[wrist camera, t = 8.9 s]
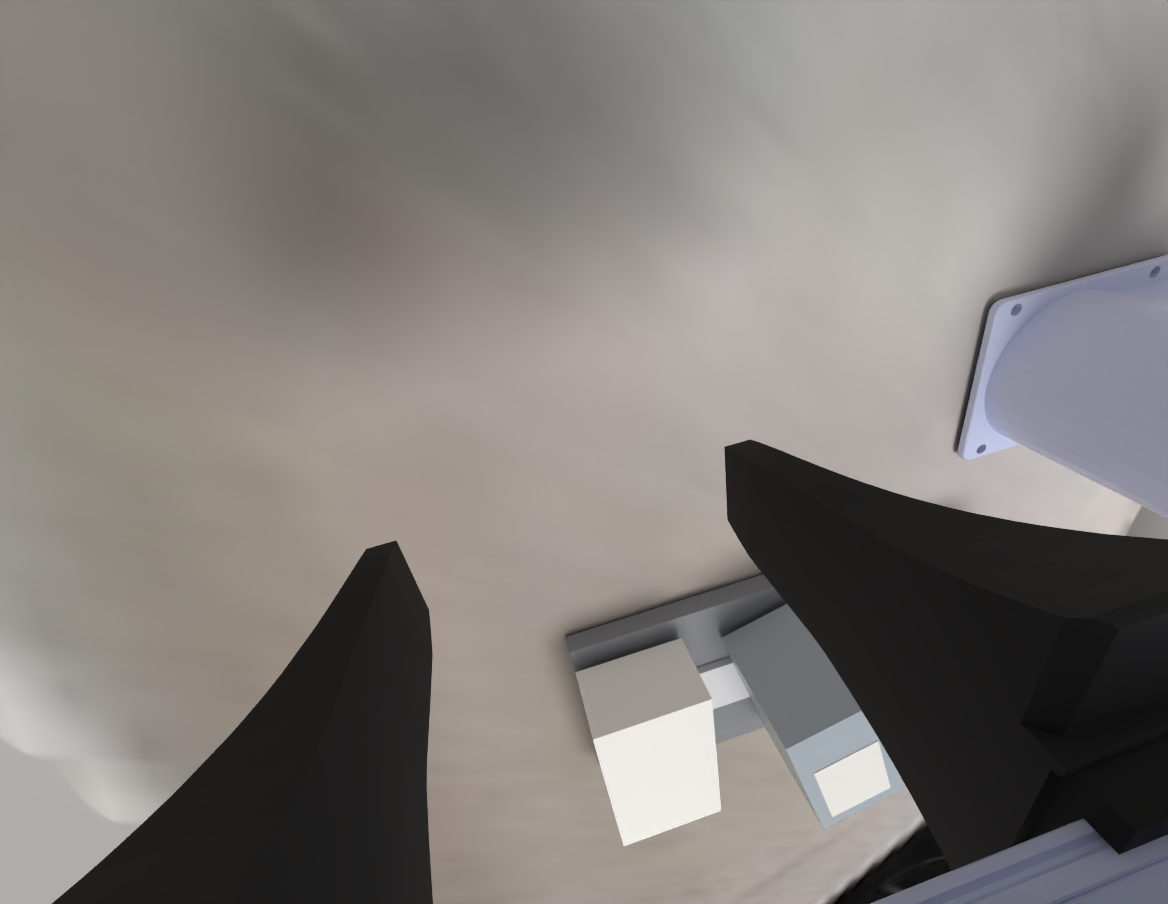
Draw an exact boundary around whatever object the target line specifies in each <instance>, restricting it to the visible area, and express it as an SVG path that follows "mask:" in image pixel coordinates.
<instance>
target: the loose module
mask: <svg viewBox="0 0 1168 904" xmlns="http://www.w3.org/2000/svg"><path fill="white" fill-rule="evenodd" d="M721 639H722V641H723V643H724V645H725V647H726V649H727V651H728V653H729V655H730V657H731V659H732V661H733V663H734V665H735V667H736V669H737V672H738V674H739V676H740V678H741V680H742V682H743V684H744V686H745V688H746V690H747V692H748V694H749V696H750V698H751V700H752V702H753V704H754V706H755V708H756V710H757V712H758V714H759V716H760V718H761V720H762V722H763V724H764V726H765V728H766V729H767V731H768V733H769V735H770V736H771V738H772V740H773V742H774V743H775V745H776V747H777V749H778V750H779V752H780V754H781V756H782V757H783V759H784V761H785V763H786V764H787V766H788V768H789V770H790V771H791V773H792V775H793V777H794V779H795V780H796V782H797V784H798V786H799V787H800V789H801V791H802V793H803V794H804V796H805V798H806V800H807V801H808V803H809V805H810V807H811V808H812V810H813V812H814V814H815V815H816V817H817V819H818V821H819V822H820V824H821V826H822V828H823V829H826V828H828V827H830V826H832V825H834V824H836V823H838V822H840V821H842V820H844V819H846V818H848V817H850V816H852V815H854V814H856V813H857V812H859V811H861V810H863V809H865V808H867V807H869V806H871V805H873V804H875V803H877V802H879V801H881V800H883V799H885V798H887V797H889V796H891V795H893V794H895V793H897V792H899V791H901V790H903V789H904V788H903V784H902V780H901V776H900V775H899V773H898V771H897V769H896V768H895V766H894V764H893V762H892V761H891V759H890V757H889V756H888V754H887V752H886V750H885V749H884V747H883V745H882V743H881V742H880V740H879V738H878V737H877V735H876V733H875V732H874V730H873V729H872V727H871V725H870V724H869V722H868V720H867V719H866V717H865V715H864V714H863V712H862V711H861V709H860V707H859V706H858V704H857V702H856V701H855V699H854V698H853V696H852V694H851V693H850V691H849V690H848V688H847V686H846V685H845V683H844V682H843V680H842V679H841V677H840V676H839V674H838V673H837V671H836V669H835V668H834V666H833V665H832V663H831V662H830V660H829V659H828V657H827V655H826V654H825V652H824V651H823V650H822V648H821V647H820V646H819V644H818V643H817V641H816V640H815V639H814V637H813V636H812V635H811V633H810V632H809V631H808V630H807V628H806V627H805V626H804V625H803V623H802V622H801V621H800V620H799V618H798V617H797V616H796V615H795V613H794V612H793V611H792V610H791V608H790V607H789V606H788V605H787V604H786V605H784V606H782V607H780V608H778V609H776V610H774V611H772V612H770V613H768V614H766V615H764V616H762V617H761V618H759V619H757V620H755V621H753V622H751V623H749V624H747V625H745V626H743V627H741V628H739V629H738V630H736V631H734V632H732V633H730V634H728V635H726V636H724V637H722V638H721Z"/></svg>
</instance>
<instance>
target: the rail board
mask: <svg viewBox="0 0 1168 904" xmlns="http://www.w3.org/2000/svg"><path fill="white" fill-rule="evenodd" d="M786 604H787V603H786V602H785V601H784V600H783V598H782V597H781V596H780V595H779V593H778V592H777V591H776V590H775V588H774V587H773V586H772V585H771V583H770V582H769V581H768V580H767V578H766V577H765V576H764V575H763V574H762V575H759V576H756V577H752V578H749V579H746V580H743V581H740V582H737V583H733V584H730V585H727V586H724V587H721V588H718V589H714V590H711V591H708V592H705V593H702V594H699V595H696V596H692V597H689V598H686V599H683V600H680V601H677V602H673V603H670V604H667V605H664V606H661V607H658V608H654V609H651V610H648V611H645V612H642V613H639V614H636V615H632V616H629V617H626V618H623V619H620V620H617V621H613V622H610V623H607V624H604V625H601V626H598V627H594V628H591V629H588V630H585V631H582V632H579V633H576V634H572V635H569V636H566V641H567V645H568V648H569V652H570V656H571V659H572V663H573V666H574V670H575V674H576V678H577V681H578V685H579V689H580V693H581V697H582V700H583V704H584V708H585V712H586V715H587V719H588V723H589V727H590V731H591V734H592V738H593V742H594V745H595V749H596V752H597V756H598V759H599V762H600V766H601V769H602V773H603V776H604V780H605V783H606V786H607V790H608V793H609V797H610V800H611V804H612V807H613V811H614V814H615V817H616V821H617V824H618V828H619V831H620V835H621V838H622V841H623V845H624V846H626V845H629V844H632V843H634V842H637V841H640V840H643V839H645V838H648V837H651V836H654V835H656V834H659V833H662V832H664V831H667V830H670V829H673V828H675V827H678V826H681V825H683V824H686V823H689V822H692V821H694V820H697V819H700V818H703V817H705V816H708V815H711V814H713V813H716V812H719V811H721V804H720V792H719V779H718V767H717V754H716V744H717V743H720V742H723V741H725V740H728V739H731V738H734V737H737V736H740V735H742V734H745V733H748V732H751V731H754V730H757V729H759V728H762V727H765V726H764V724H763V722H762V720H761V718H760V716H759V714H758V712H757V710H756V708H755V706H754V704H753V702H752V700H751V698H750V696H749V694H748V692H747V690H746V688H745V686H744V684H743V682H742V680H741V678H740V676H739V674H738V672H737V669H736V667H735V665H734V663H733V661H732V659H731V657H730V655H729V653H728V651H727V649H726V647H725V645H724V643H723V641H722V639H721V638H722V637H724V636H726V635H728V634H730V633H732V632H734V631H736V630H738V629H739V628H741V627H743V626H745V625H747V624H749V623H751V622H753V621H755V620H757V619H759V618H761V617H762V616H764V615H766V614H768V613H770V612H772V611H774V610H776V609H778V608H780V607H782V606H784V605H786Z"/></svg>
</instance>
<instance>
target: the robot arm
mask: <svg viewBox="0 0 1168 904" xmlns="http://www.w3.org/2000/svg"><path fill="white" fill-rule="evenodd" d="M1020 444H1021V445H1023V446H1025V447H1027V448H1028V449H1030V450H1032V451H1034V452H1036V453H1038V454H1040V455H1042V456H1044V457H1046V458H1048V459H1050V460H1052V461H1054V462H1056V463H1058V464H1060V465H1062V466H1064V467H1066V468H1068V469H1070V470H1072V471H1074V472H1076V473H1078V474H1080V475H1082V476H1084V477H1086V478H1088V479H1090V480H1092V481H1094V482H1096V483H1098V484H1100V485H1102V486H1104V487H1106V488H1108V489H1110V490H1112V491H1114V492H1116V493H1118V494H1120V495H1122V496H1124V497H1126V498H1128V499H1130V500H1132V501H1134V502H1136V503H1138V504H1140V505H1142V506H1144V507H1146V508H1148V509H1150V510H1152V511H1154V512H1156V513H1158V514H1160V515H1162V516H1164V517H1166V518H1168V255H1164V256H1160V257H1157V258H1153V259H1149V260H1145V261H1142V262H1138V263H1134V264H1130V265H1127V266H1123V267H1119V268H1116V269H1112V270H1108V271H1104V272H1101V273H1097V274H1093V275H1089V276H1086V277H1082V278H1078V279H1075V280H1071V281H1067V282H1063V283H1060V284H1056V285H1052V286H1048V287H1045V288H1041V289H1037V290H1034V291H1030V292H1026V293H1022V294H1019V295H1015V296H1011V297H1007V298H1004V299H1001V300H999V301H997V302H996V303H994V304H993V306H992V307H991V308H990V311H989V314H988V318H987V322H986V327H985V331H984V336H983V340H982V345H981V349H980V354H979V358H978V362H977V367H976V371H975V376H974V380H973V385H972V389H971V394H970V398H969V402H968V407H967V411H966V416H965V420H964V425H963V429H962V433H961V438H960V442H959V447H958V456H959V457H961V458H963V459H965V460H971V459H974V458H977V457H980V456H984V455H987V454H990V453H994V452H997V451H1000V450H1003V449H1007V448H1010V447H1013V446H1017V445H1020ZM725 469H726V492H727V516H728V521H729V523H730V525H731V526H732V528H733V530H734V532H735V533H736V535H737V537H738V539H739V540H740V542H741V544H742V545H743V547H744V548H745V550H746V552H747V553H748V555H749V556H750V558H751V559H752V560H753V562H754V563H755V564H756V566H757V567H758V568H759V569H760V571H761V572H762V573H763V575H764V576H765V577H766V578H767V580H768V581H769V582H770V583H771V585H772V586H773V587H774V588H775V590H776V591H777V592H778V593H779V595H780V596H781V597H782V598H783V600H784V601H785V602H786V603H787V605H788V606H789V607H790V608H791V610H792V611H793V612H794V613H795V615H796V616H797V617H798V618H799V620H800V621H801V622H802V623H803V625H804V626H805V627H806V628H807V630H808V631H809V632H810V633H811V635H812V636H813V637H814V639H815V640H816V641H817V643H818V644H819V646H820V647H821V648H822V650H823V651H824V652H825V654H826V655H827V657H828V659H829V660H830V662H831V663H832V665H833V666H834V668H835V669H836V671H837V673H838V674H839V676H840V677H841V679H842V680H843V682H844V683H845V685H846V686H847V688H848V690H849V691H850V693H851V694H852V696H853V698H854V699H855V701H856V702H857V704H858V706H859V707H860V709H861V711H862V712H863V714H864V715H865V717H866V719H867V720H868V722H869V724H870V725H871V727H872V729H873V730H874V732H875V733H876V735H877V737H878V738H879V740H880V742H881V743H882V745H883V747H884V749H885V750H886V752H887V754H888V756H889V757H890V759H891V761H892V762H893V764H894V766H895V768H896V769H897V771H898V773H899V775H900V776H901V778H902V780H903V781H904V783H905V785H906V787H907V788H908V790H909V792H910V794H911V795H912V797H913V799H914V801H915V803H916V805H917V806H918V808H919V810H920V812H921V814H922V816H923V818H924V819H925V821H926V823H927V825H928V827H929V829H930V830H931V832H932V834H933V836H934V838H935V840H936V841H937V843H938V845H939V847H940V849H941V851H942V852H943V854H944V856H945V858H946V860H947V862H948V864H949V866H950V868H951V870H952V871H951V872H948V873H946V874H943V875H941V876H938V877H936V878H933V879H931V880H928V881H926V882H923V883H921V884H918V885H916V886H913V887H911V888H908V889H906V890H903V891H901V892H898V893H896V894H893V895H891V896H888V897H886V898H883V899H881V900H878V901H876V902H873V903H871V904H1168V540H1166V539H1155V538H1143V537H1130V536H1119V535H1108V534H1099V533H1091V532H1084V531H1076V530H1069V529H1061V528H1054V527H1047V526H1040V525H1034V524H1028V523H1022V522H1016V521H1011V520H1005V519H1000V518H995V517H990V516H985V515H980V514H975V513H970V512H966V511H961V510H957V509H952V508H948V507H944V506H941V505H937V504H933V503H929V502H925V501H921V500H918V499H914V498H910V497H907V496H903V495H900V494H897V493H893V492H890V491H887V490H884V489H881V488H878V487H875V486H872V485H869V484H866V483H863V482H860V481H857V480H854V479H852V478H849V477H846V476H843V475H841V474H838V473H835V472H833V471H830V470H828V469H825V468H822V467H820V466H817V465H815V464H812V463H810V462H807V461H805V460H802V459H800V458H797V457H795V456H792V455H790V454H787V453H785V452H783V451H780V450H777V449H775V448H772V447H770V446H767V445H765V444H762V443H759V442H756V441H753V440H747V441H744V442H740V443H737V444H733V445H730V446H726V447H725ZM431 676H432V641H431V628H430V617H429V609H428V607H427V605H426V603H425V601H424V598H423V596H422V594H421V592H420V590H419V588H418V586H417V584H416V581H415V579H414V577H413V575H412V573H411V571H410V569H409V567H408V564H407V562H406V560H405V558H404V556H403V554H402V552H401V549H400V547H399V545H398V543H397V541H393V542H389V543H386V544H382V545H379V546H375V547H372V548H368V549H366V550H365V552H364V553H363V555H362V556H361V558H360V559H359V561H358V563H357V564H356V566H355V567H354V569H353V570H352V572H351V574H350V575H349V577H348V578H347V580H346V581H345V583H344V585H343V586H342V588H341V589H340V591H339V592H338V594H337V595H336V597H335V599H334V600H333V602H332V603H331V605H330V606H329V608H328V609H327V611H326V612H325V614H324V615H323V617H322V618H321V620H320V621H319V623H318V624H317V626H316V627H315V629H314V630H313V631H312V633H311V634H310V636H309V637H308V638H307V640H306V641H305V642H304V644H303V645H302V647H301V648H300V649H299V651H298V652H297V653H296V655H295V656H294V657H293V659H292V660H291V662H290V663H289V664H288V666H287V667H286V668H285V670H284V671H283V673H282V674H281V675H280V676H279V678H278V679H277V680H276V682H275V683H274V684H273V685H272V687H271V688H270V689H269V690H268V692H267V693H266V694H265V695H264V696H263V698H262V699H261V700H260V701H259V702H258V704H257V705H256V706H255V707H254V708H253V709H252V711H251V712H250V713H249V714H248V715H247V716H246V718H245V719H244V720H243V721H242V722H241V723H240V725H239V726H238V727H237V728H236V729H235V730H234V731H233V732H232V734H231V735H230V736H229V737H228V738H227V739H226V740H225V741H224V742H223V743H222V744H221V745H220V746H219V747H218V748H217V749H216V750H215V751H214V753H213V754H212V755H211V756H210V757H209V758H208V759H207V760H206V761H205V762H204V763H203V764H202V765H201V766H200V767H199V768H198V769H197V770H196V771H195V772H194V773H193V774H192V775H191V776H190V778H189V779H188V780H187V781H186V782H185V783H184V784H183V785H182V786H181V787H180V788H179V789H178V790H177V791H176V792H175V793H174V794H173V795H172V796H171V797H170V798H169V799H168V800H167V801H166V802H165V803H164V804H163V805H162V806H160V807H159V808H158V809H157V810H156V811H155V812H154V813H153V814H152V815H151V816H150V817H149V818H148V819H147V820H146V821H145V822H144V823H143V824H142V825H141V826H139V827H138V828H137V829H136V830H135V831H134V832H133V833H132V834H131V835H130V836H129V837H127V838H126V840H124V841H123V842H122V843H121V844H120V845H119V846H118V847H117V848H116V849H114V850H113V851H112V852H111V853H110V854H109V855H108V856H107V857H106V858H105V859H103V860H102V861H101V862H100V863H99V864H98V865H97V866H95V867H94V868H93V869H92V870H91V871H90V872H89V873H87V874H86V875H85V876H84V877H83V878H82V879H81V880H79V881H78V882H77V883H76V884H75V885H73V886H72V887H71V888H70V889H69V890H67V892H65V893H64V894H63V895H62V896H60V898H58V899H57V900H56V901H54V902H53V903H52V904H433V899H432V883H431V867H430V851H429V832H428V810H427V787H426V786H427V750H428V732H429V714H430V696H431Z"/></svg>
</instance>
